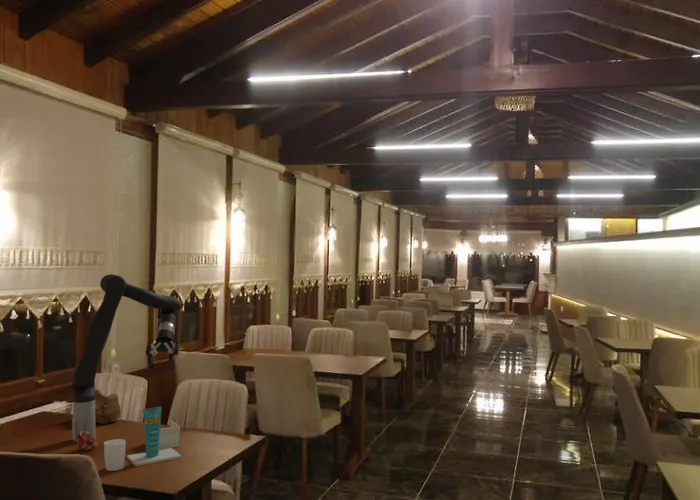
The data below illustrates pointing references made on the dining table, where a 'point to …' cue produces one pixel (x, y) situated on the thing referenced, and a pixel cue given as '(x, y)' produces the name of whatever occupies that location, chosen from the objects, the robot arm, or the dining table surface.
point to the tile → (163, 456)
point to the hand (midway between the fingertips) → (160, 362)
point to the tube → (152, 430)
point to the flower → (86, 440)
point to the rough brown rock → (106, 408)
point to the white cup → (114, 454)
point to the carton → (169, 436)
